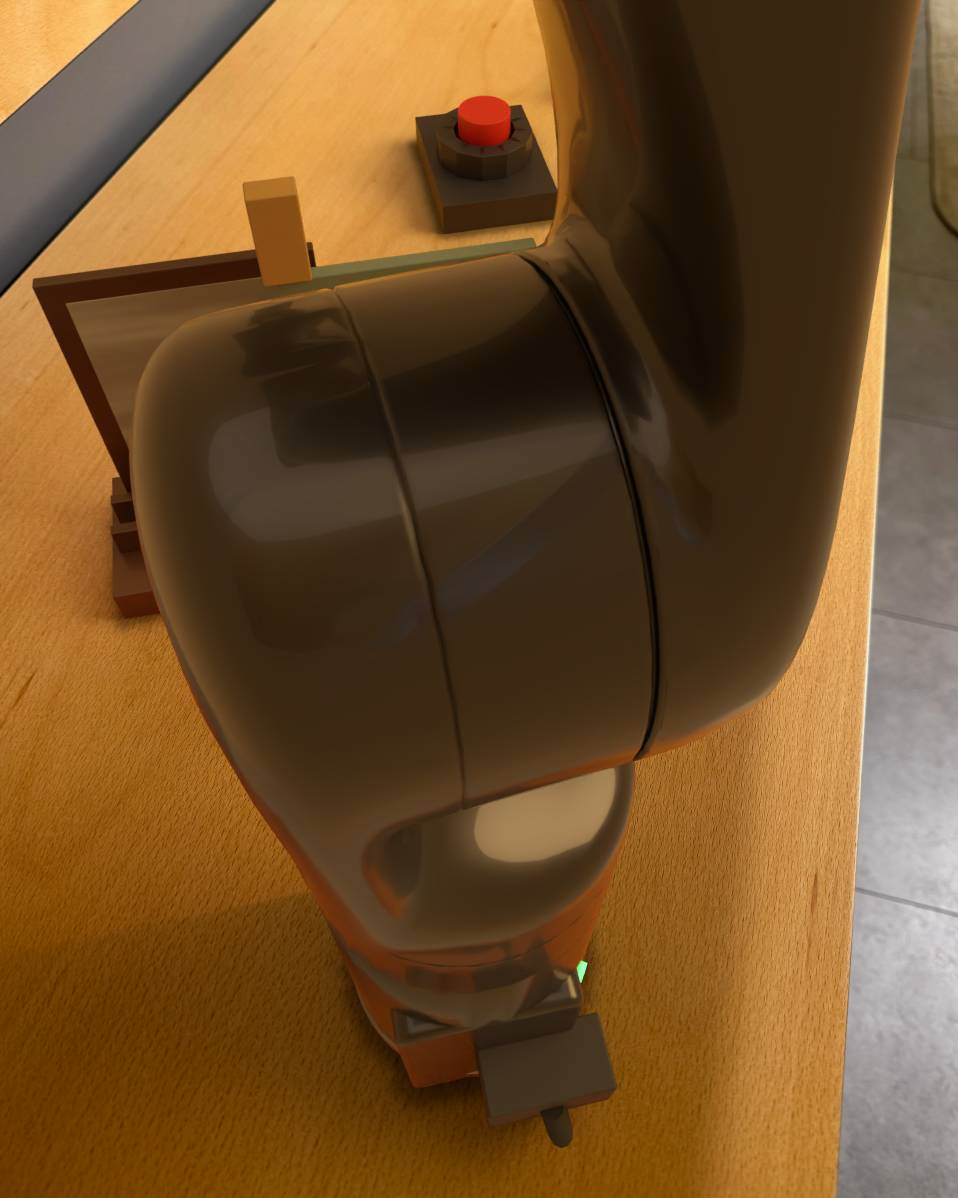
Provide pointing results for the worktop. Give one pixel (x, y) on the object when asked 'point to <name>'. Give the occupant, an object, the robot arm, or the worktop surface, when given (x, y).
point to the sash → (290, 267)
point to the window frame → (136, 361)
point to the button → (484, 121)
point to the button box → (485, 175)
